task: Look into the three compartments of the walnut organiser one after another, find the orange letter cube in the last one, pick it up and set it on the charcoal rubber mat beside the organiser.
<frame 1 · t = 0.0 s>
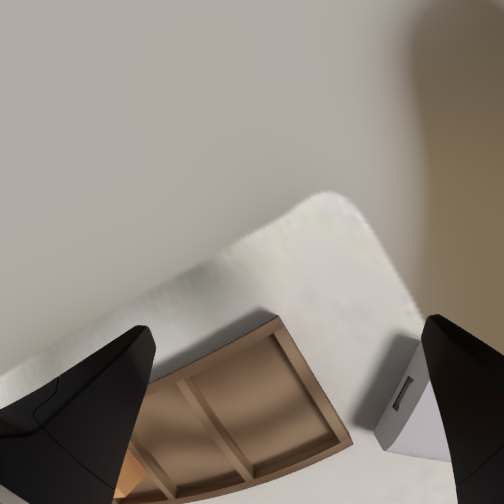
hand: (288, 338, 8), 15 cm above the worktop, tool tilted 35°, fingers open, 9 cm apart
letter cube: (118, 459, 22), point 1 cm above the worktop, touching organiser
charger: (451, 403, 20), on the worktop
organiser: (182, 439, 23), on the worktop
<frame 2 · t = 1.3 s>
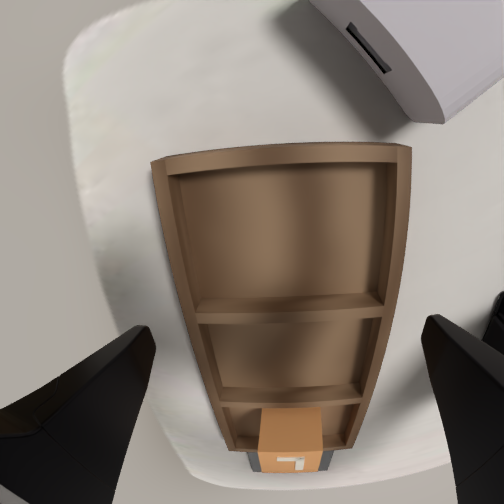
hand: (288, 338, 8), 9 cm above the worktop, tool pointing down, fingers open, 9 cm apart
letter cube: (291, 417, 23), point 1 cm above the worktop, touching organiser
charger: (437, 10, 10), on the worktop
organiser: (291, 347, 20), on the worktop
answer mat: (290, 459, 29), on the worktop
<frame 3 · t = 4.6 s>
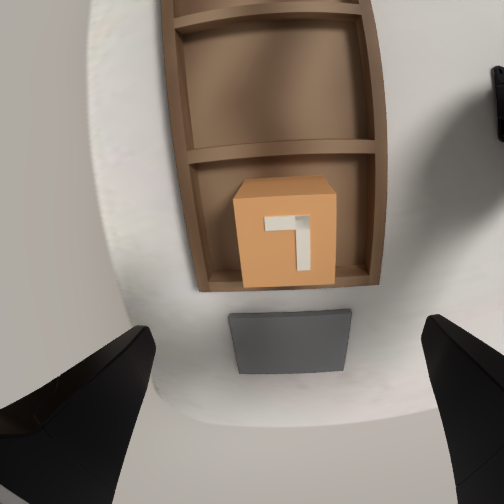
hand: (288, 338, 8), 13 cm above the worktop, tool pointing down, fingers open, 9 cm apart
letter cube: (286, 213, 19), point 1 cm above the worktop, touching organiser
organiser: (275, 79, 16), on the worktop
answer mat: (291, 343, 25), on the worktop
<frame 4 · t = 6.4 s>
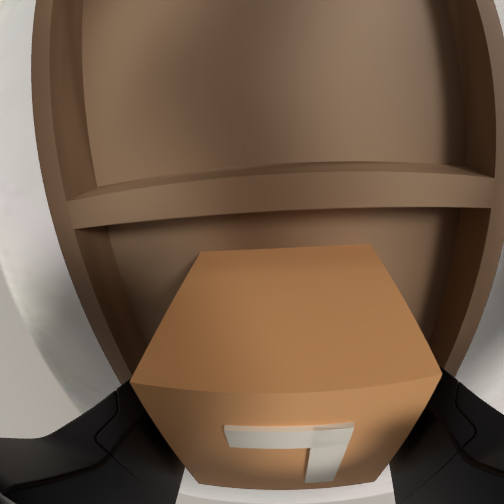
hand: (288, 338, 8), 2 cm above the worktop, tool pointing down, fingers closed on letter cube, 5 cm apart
letter cube: (288, 317, 9), point 1 cm above the worktop, touching gripper, organiser
organiser: (266, 24, 6), on the worktop
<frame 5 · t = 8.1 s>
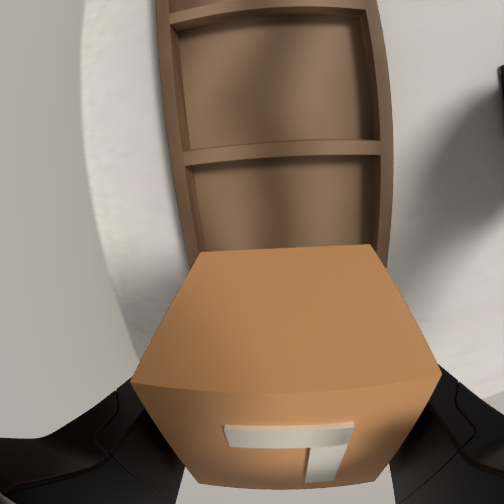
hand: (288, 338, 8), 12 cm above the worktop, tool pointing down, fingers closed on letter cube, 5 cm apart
letter cube: (288, 317, 9), point 11 cm above the worktop, touching gripper
organiser: (275, 76, 15), on the worktop
when the fingers open (3 cm above the worktop, at t = 11.1 s): letter cube drops 2 cm, resting on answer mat.
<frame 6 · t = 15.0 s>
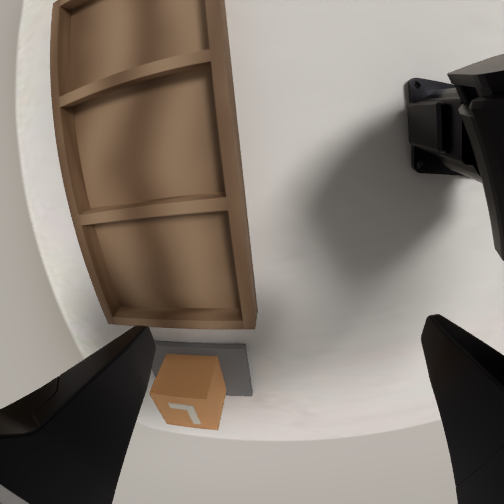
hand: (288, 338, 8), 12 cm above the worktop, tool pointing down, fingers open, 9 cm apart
letter cube: (197, 372, 26), point 1 cm above the worktop, touching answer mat
organiser: (145, 140, 18), on the worktop
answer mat: (198, 368, 27), on the worktop
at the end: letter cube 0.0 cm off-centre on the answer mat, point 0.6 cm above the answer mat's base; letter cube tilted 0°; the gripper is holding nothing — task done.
